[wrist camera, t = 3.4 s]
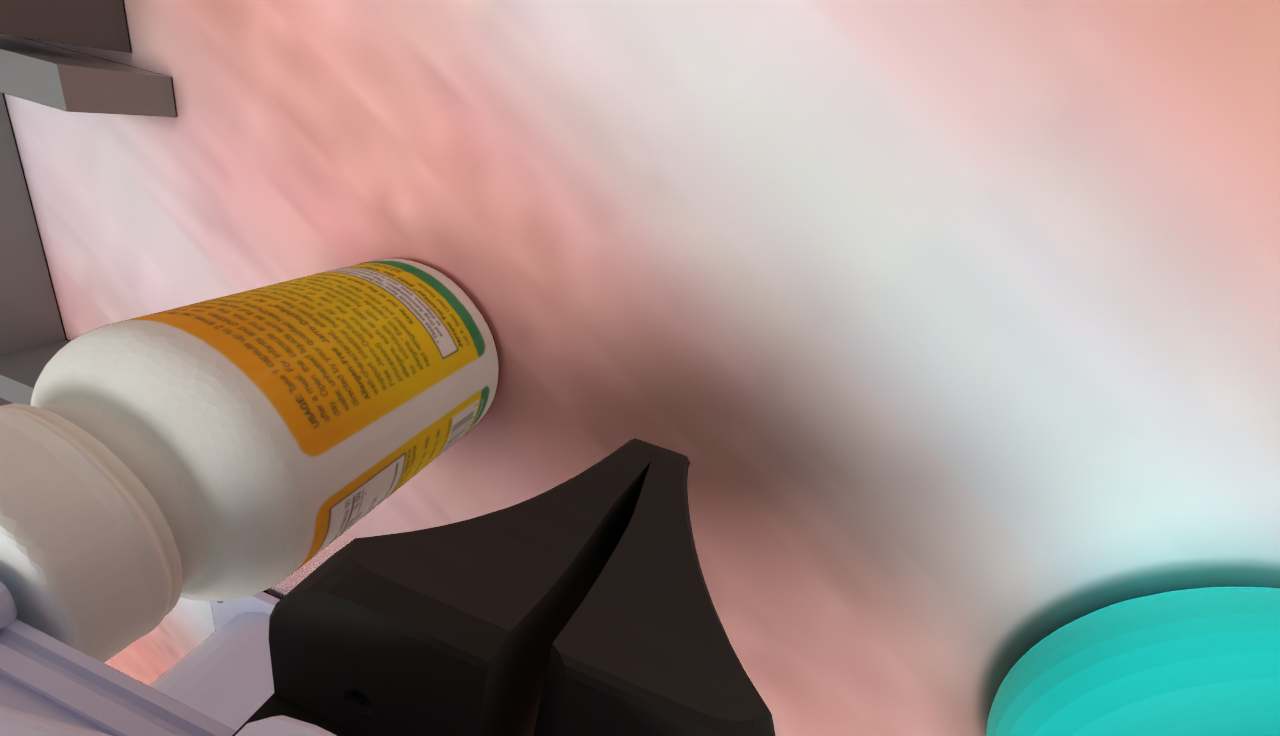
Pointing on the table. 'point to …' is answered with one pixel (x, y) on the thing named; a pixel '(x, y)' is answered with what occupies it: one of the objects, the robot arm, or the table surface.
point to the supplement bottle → (228, 442)
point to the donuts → (1152, 670)
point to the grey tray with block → (3, 218)
